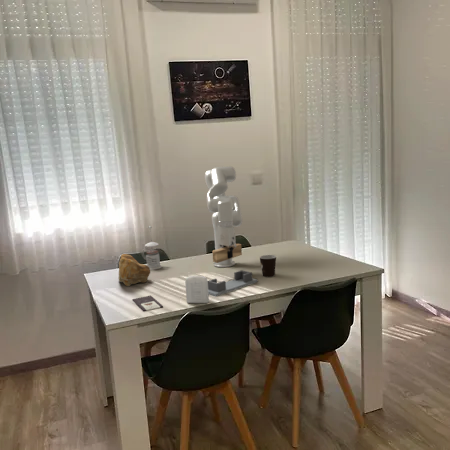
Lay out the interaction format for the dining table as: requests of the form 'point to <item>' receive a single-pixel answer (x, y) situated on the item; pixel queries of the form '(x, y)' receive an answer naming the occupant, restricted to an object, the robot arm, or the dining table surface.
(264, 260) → the coffee mug
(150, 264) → the french press
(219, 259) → the slat
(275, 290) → the dining table surface
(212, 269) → the dining table surface
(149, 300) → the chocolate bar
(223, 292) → the endcap board
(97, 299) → the dining table surface
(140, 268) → the rough brown rock
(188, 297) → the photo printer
